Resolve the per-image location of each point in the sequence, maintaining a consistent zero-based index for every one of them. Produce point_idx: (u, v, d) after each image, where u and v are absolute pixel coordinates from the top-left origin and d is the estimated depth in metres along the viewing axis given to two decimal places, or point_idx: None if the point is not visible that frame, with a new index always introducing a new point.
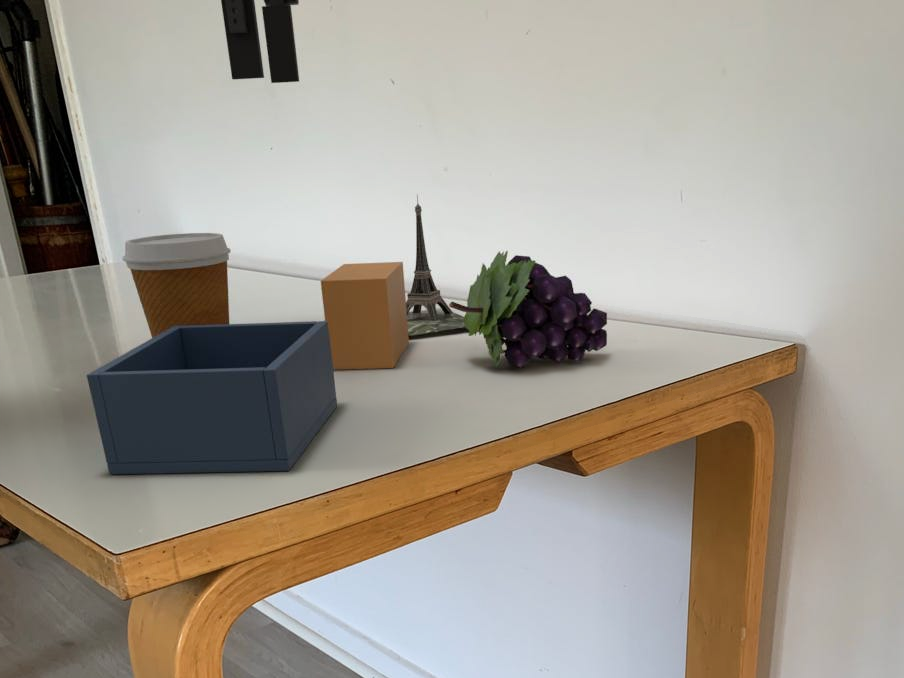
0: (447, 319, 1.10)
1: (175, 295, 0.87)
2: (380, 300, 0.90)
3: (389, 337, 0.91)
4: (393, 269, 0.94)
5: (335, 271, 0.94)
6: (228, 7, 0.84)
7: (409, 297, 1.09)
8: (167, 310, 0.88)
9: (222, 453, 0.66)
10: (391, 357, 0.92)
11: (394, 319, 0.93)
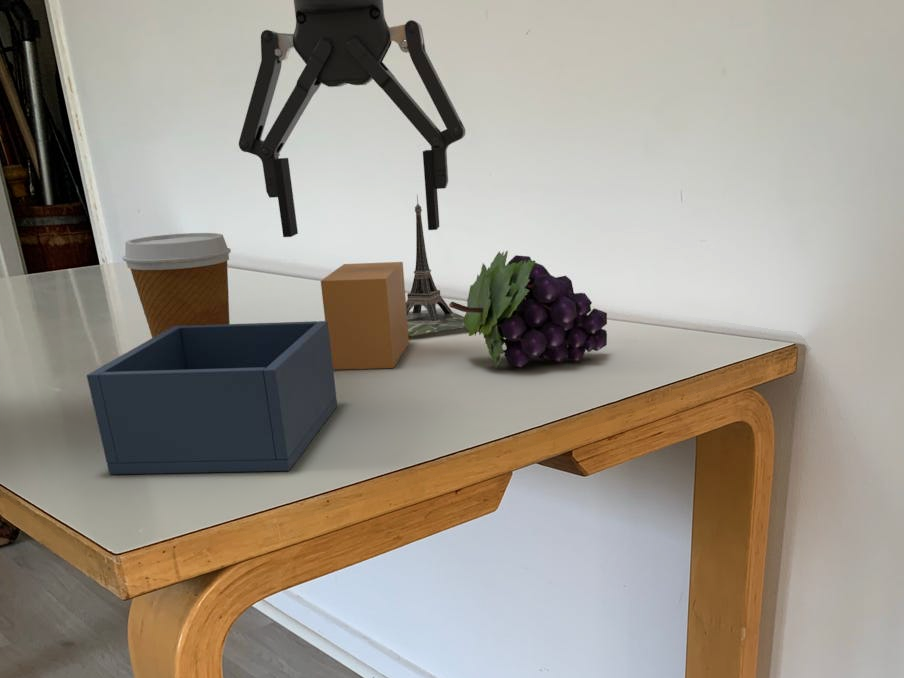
0: (447, 319, 1.10)
1: (175, 295, 0.87)
2: (380, 300, 0.90)
3: (389, 337, 0.91)
4: (393, 269, 0.94)
5: (335, 271, 0.94)
6: (445, 165, 0.89)
7: (409, 297, 1.09)
8: (167, 310, 0.88)
9: (222, 453, 0.66)
10: (391, 357, 0.92)
11: (394, 319, 0.93)
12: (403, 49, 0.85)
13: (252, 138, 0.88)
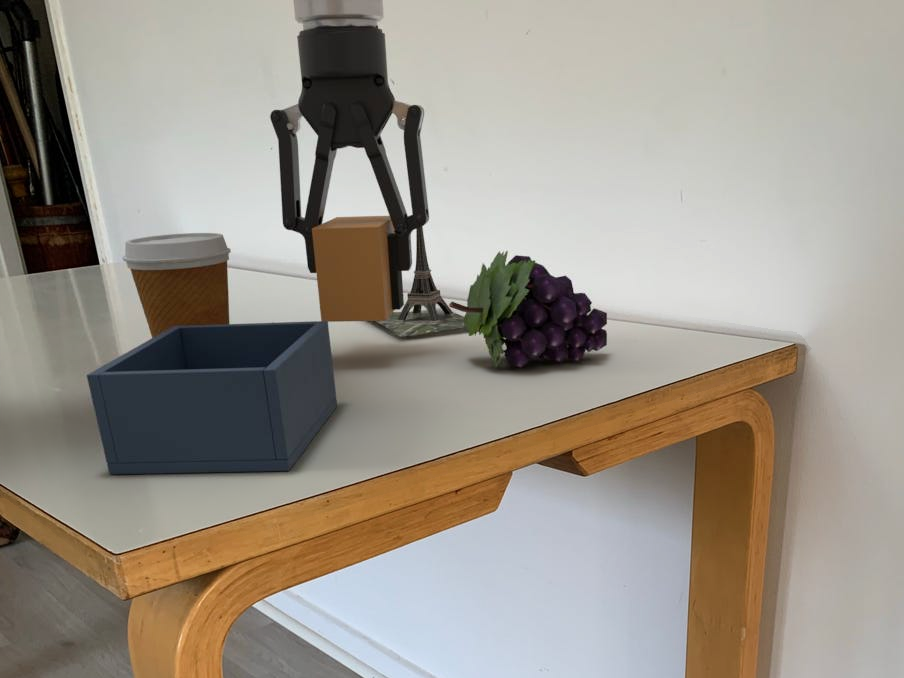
0: (447, 319, 1.10)
1: (175, 295, 0.87)
2: (373, 249, 0.88)
3: (381, 288, 0.89)
4: (387, 220, 0.92)
5: (327, 222, 0.92)
6: (409, 249, 0.92)
7: (409, 297, 1.09)
8: (167, 310, 0.88)
9: (222, 453, 0.66)
10: (384, 309, 0.90)
11: (387, 271, 0.91)
12: (400, 125, 0.87)
13: (293, 214, 0.91)
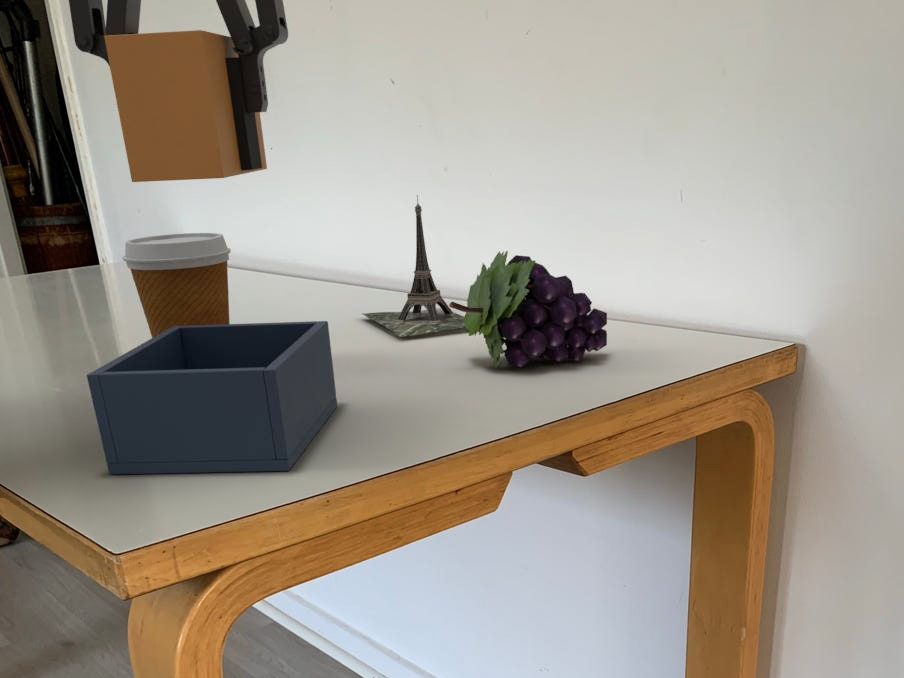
0: (447, 319, 1.10)
1: (175, 295, 0.87)
2: (196, 67, 0.60)
3: (213, 127, 0.61)
4: (226, 36, 0.64)
5: None
6: (260, 79, 0.64)
7: (409, 297, 1.09)
8: (167, 310, 0.88)
9: (222, 453, 0.66)
10: (219, 160, 0.62)
11: (226, 108, 0.63)
12: None
13: (89, 28, 0.63)
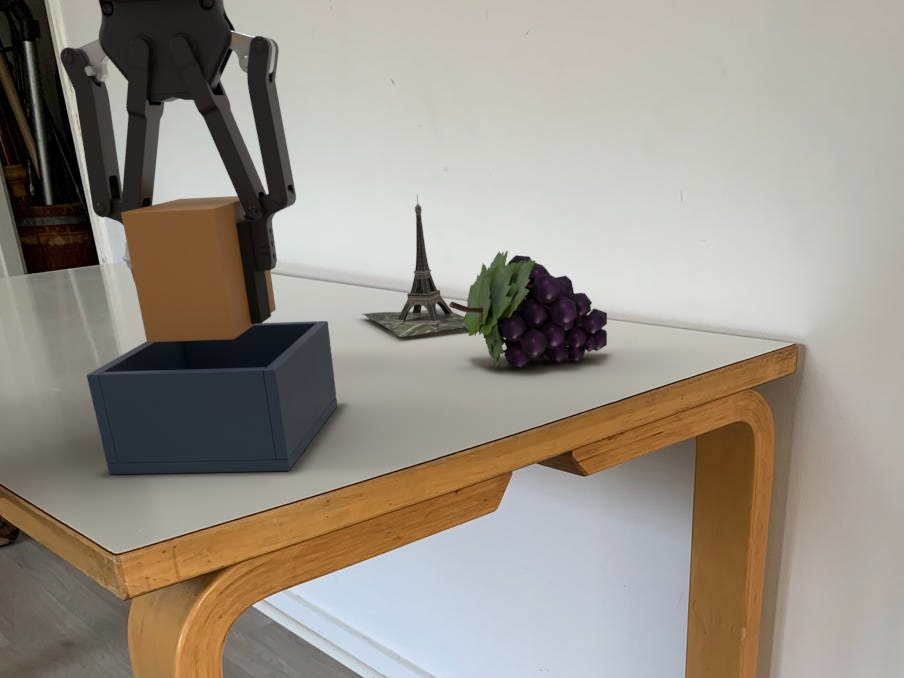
0: (447, 319, 1.10)
1: None
2: (208, 241, 0.63)
3: (224, 294, 0.64)
4: (236, 201, 0.67)
5: (156, 204, 0.67)
6: (269, 240, 0.67)
7: (409, 297, 1.09)
8: None
9: (222, 453, 0.66)
10: (230, 323, 0.65)
11: (237, 271, 0.66)
12: (243, 67, 0.62)
13: (106, 195, 0.66)
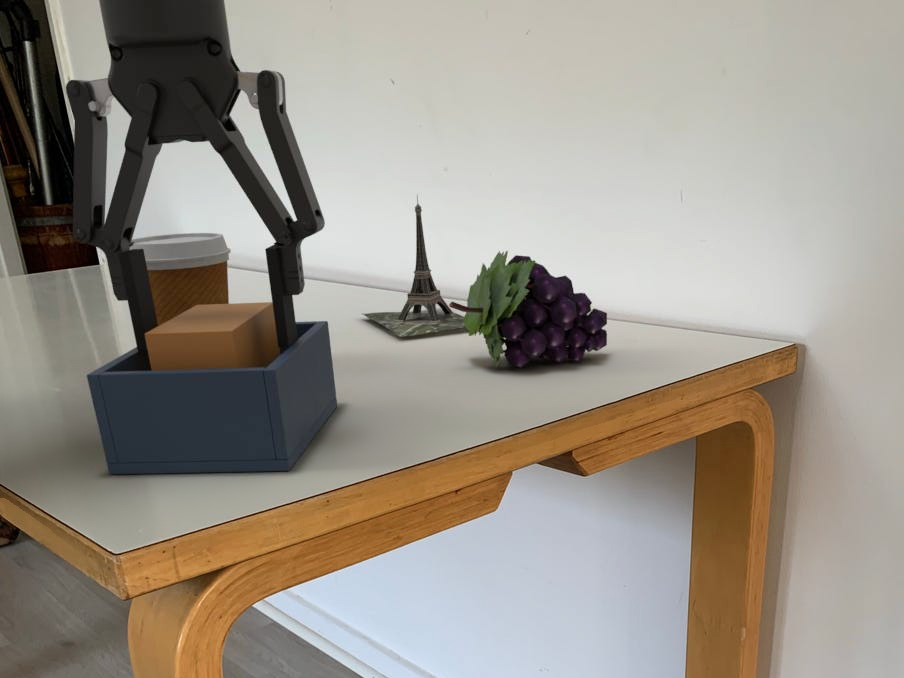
0: (447, 319, 1.10)
1: (175, 295, 0.87)
2: (226, 359, 0.66)
3: None
4: (252, 315, 0.70)
5: (176, 317, 0.71)
6: (298, 265, 0.68)
7: (409, 297, 1.09)
8: (167, 310, 0.88)
9: (222, 453, 0.66)
10: None
11: None
12: (253, 104, 0.63)
13: (88, 224, 0.67)
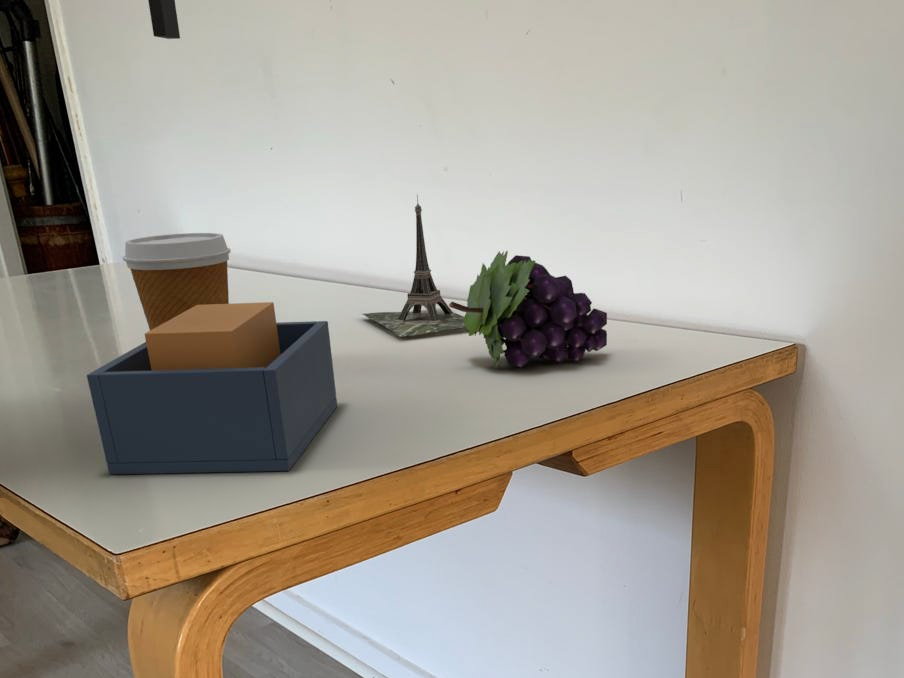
0: (447, 319, 1.10)
1: (175, 295, 0.87)
2: (226, 359, 0.66)
3: None
4: (252, 315, 0.70)
5: (176, 317, 0.71)
6: None
7: (409, 297, 1.09)
8: (167, 310, 0.88)
9: (222, 453, 0.66)
10: None
11: None
12: None
13: None
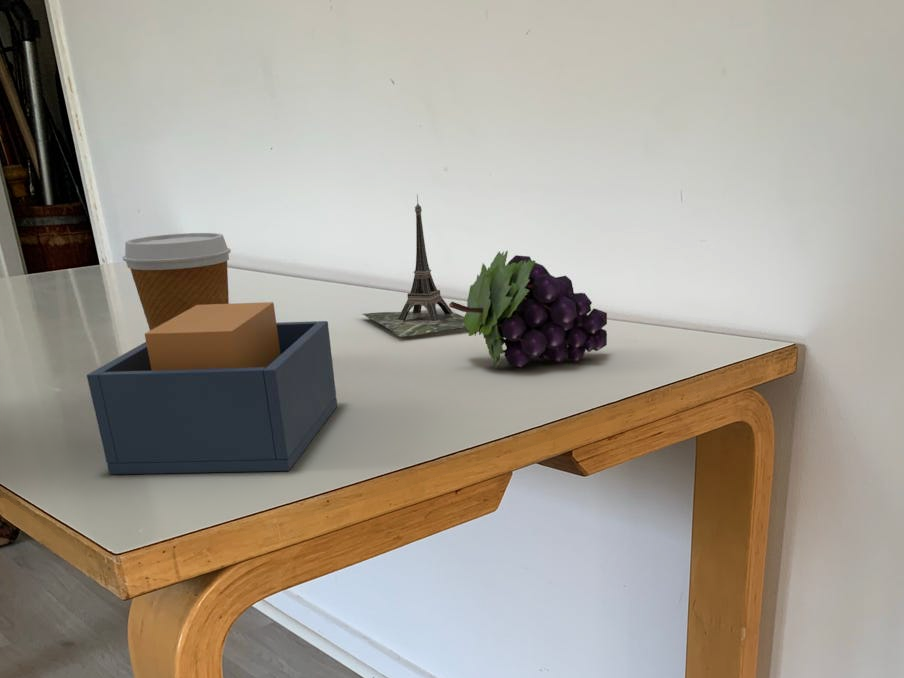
0: (447, 319, 1.10)
1: (175, 295, 0.87)
2: (226, 359, 0.66)
3: None
4: (252, 315, 0.70)
5: (176, 317, 0.71)
6: None
7: (409, 297, 1.09)
8: (167, 310, 0.88)
9: (222, 453, 0.66)
10: None
11: None
12: None
13: None
